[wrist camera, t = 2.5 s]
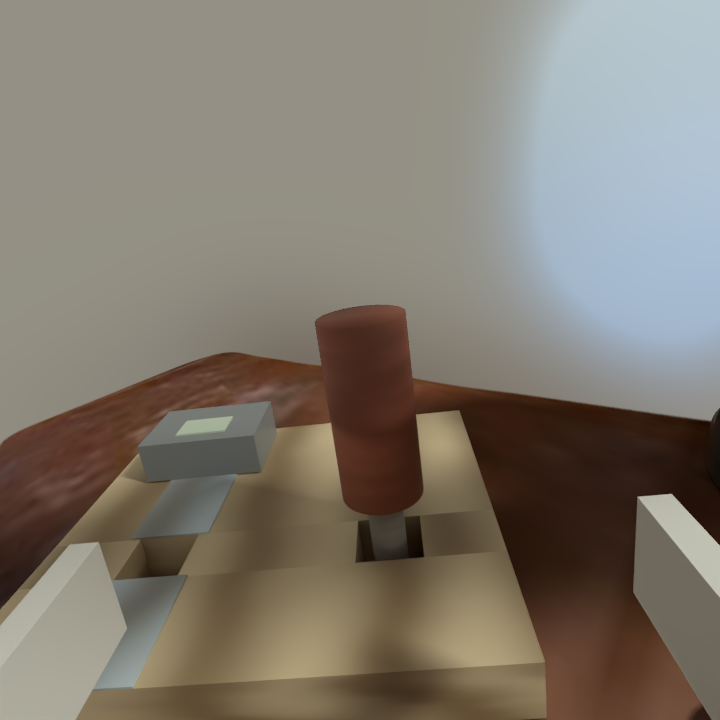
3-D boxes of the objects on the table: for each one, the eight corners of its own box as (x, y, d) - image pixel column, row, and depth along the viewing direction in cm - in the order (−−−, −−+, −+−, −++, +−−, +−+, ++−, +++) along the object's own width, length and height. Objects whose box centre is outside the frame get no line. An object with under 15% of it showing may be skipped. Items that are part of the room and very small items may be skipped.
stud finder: (276, 433, 36) (270, 399, 35) (261, 471, 31) (253, 433, 31) (177, 443, 37) (169, 410, 36) (147, 482, 32) (136, 445, 31)
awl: (429, 553, 27) (403, 300, 23) (436, 608, 23) (407, 322, 19) (358, 559, 27) (320, 310, 23) (355, 614, 24) (309, 333, 19)
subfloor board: (461, 442, 37) (459, 409, 36) (546, 718, 18) (545, 660, 17) (157, 472, 39) (148, 440, 38) (-56, 752, 20) (-84, 700, 19)
